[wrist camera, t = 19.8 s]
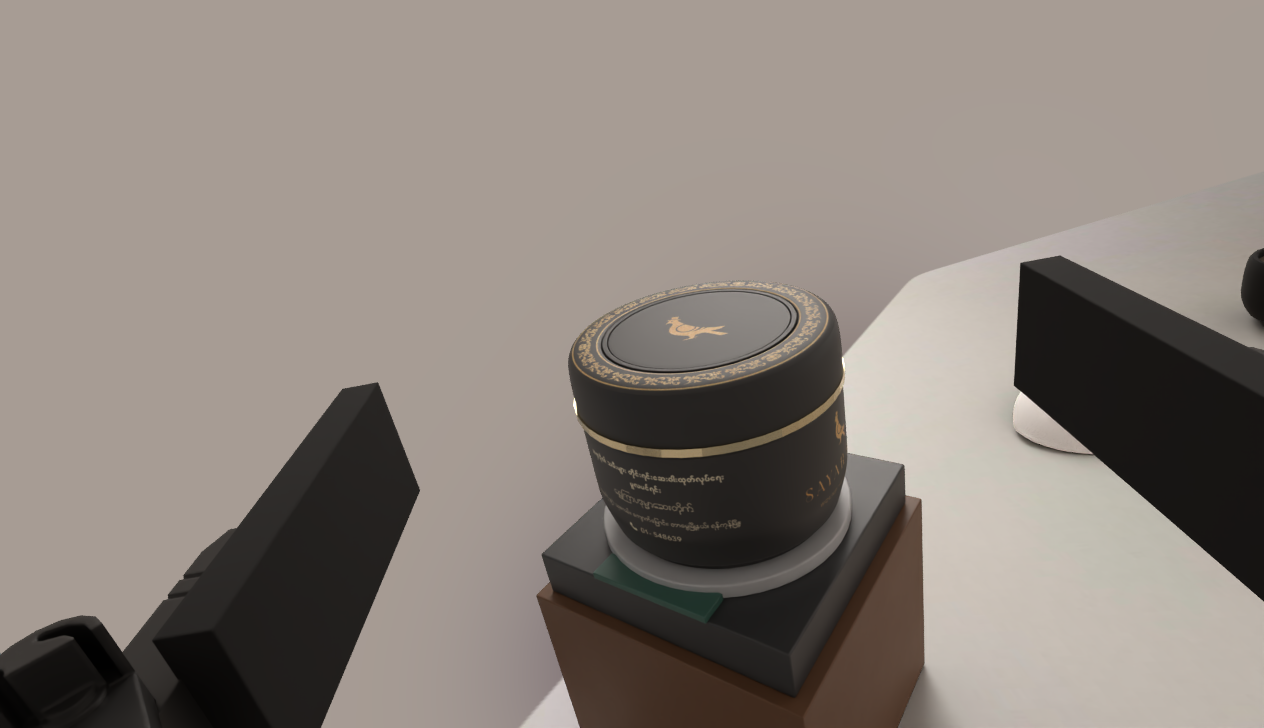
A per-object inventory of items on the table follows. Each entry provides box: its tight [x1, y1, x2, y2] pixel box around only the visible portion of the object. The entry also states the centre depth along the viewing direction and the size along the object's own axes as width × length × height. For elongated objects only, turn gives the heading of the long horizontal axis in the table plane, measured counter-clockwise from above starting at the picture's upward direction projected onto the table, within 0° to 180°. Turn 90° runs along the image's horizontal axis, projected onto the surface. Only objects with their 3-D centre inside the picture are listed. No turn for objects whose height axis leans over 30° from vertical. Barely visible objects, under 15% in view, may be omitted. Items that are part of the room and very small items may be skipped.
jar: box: [568, 281, 847, 569], centre depth 27 cm, size 10×10×8 cm
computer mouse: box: [1013, 392, 1093, 454], centre depth 50 cm, size 7×12×2 cm, turn 141°
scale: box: [537, 453, 924, 728], centre depth 31 cm, size 12×12×13 cm
